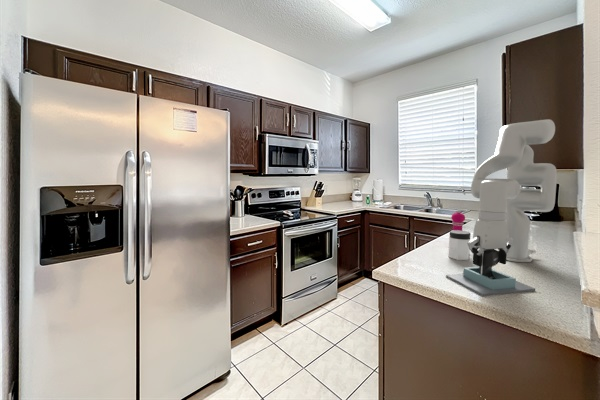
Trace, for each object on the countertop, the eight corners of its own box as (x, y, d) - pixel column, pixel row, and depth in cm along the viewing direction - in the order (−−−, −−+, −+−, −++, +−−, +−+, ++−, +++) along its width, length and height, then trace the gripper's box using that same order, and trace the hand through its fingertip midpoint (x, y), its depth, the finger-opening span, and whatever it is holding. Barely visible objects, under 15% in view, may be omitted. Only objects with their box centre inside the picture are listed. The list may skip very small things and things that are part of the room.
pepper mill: (459, 250, 131) (461, 211, 129) (445, 247, 138) (447, 209, 136) (467, 248, 135) (469, 210, 133) (454, 245, 141) (455, 208, 139)
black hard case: (490, 285, 88) (492, 252, 87) (477, 281, 92) (479, 250, 90) (498, 280, 92) (500, 249, 91) (485, 277, 96) (487, 246, 94)
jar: (443, 255, 123) (444, 230, 122) (455, 253, 126) (456, 229, 125) (461, 261, 115) (463, 234, 114) (474, 259, 118) (475, 233, 117)
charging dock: (491, 272, 101) (492, 263, 101) (535, 290, 86) (536, 279, 85) (446, 276, 98) (446, 267, 98) (482, 296, 82) (483, 284, 82)
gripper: (503, 213, 95) (500, 258, 97) (461, 215, 92) (459, 262, 94) (524, 216, 87) (520, 265, 89) (479, 219, 85) (476, 270, 86)
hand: (489, 264), depth 91 cm, fingers open, 9 cm apart
